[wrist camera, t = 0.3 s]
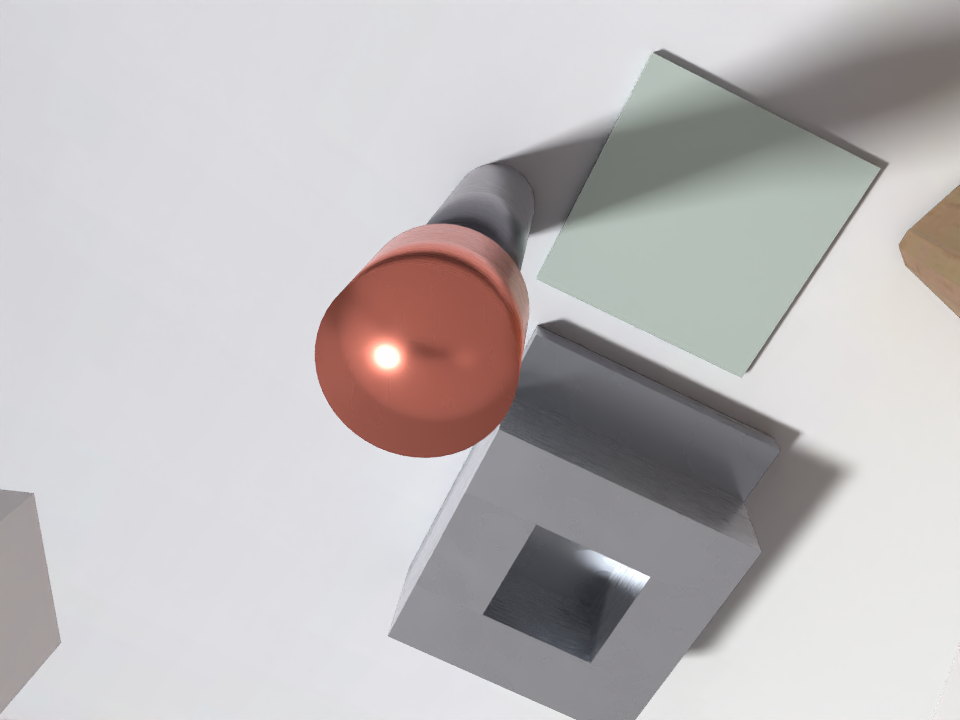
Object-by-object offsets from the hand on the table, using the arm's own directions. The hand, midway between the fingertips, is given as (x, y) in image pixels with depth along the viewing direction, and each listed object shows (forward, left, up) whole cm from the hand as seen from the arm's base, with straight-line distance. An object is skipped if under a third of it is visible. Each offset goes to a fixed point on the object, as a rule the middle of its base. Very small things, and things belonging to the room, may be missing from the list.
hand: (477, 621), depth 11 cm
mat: (+6, +3, -24) cm, 25 cm away
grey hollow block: (+8, -11, -24) cm, 28 cm away
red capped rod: (-2, 0, -24) cm, 24 cm away
